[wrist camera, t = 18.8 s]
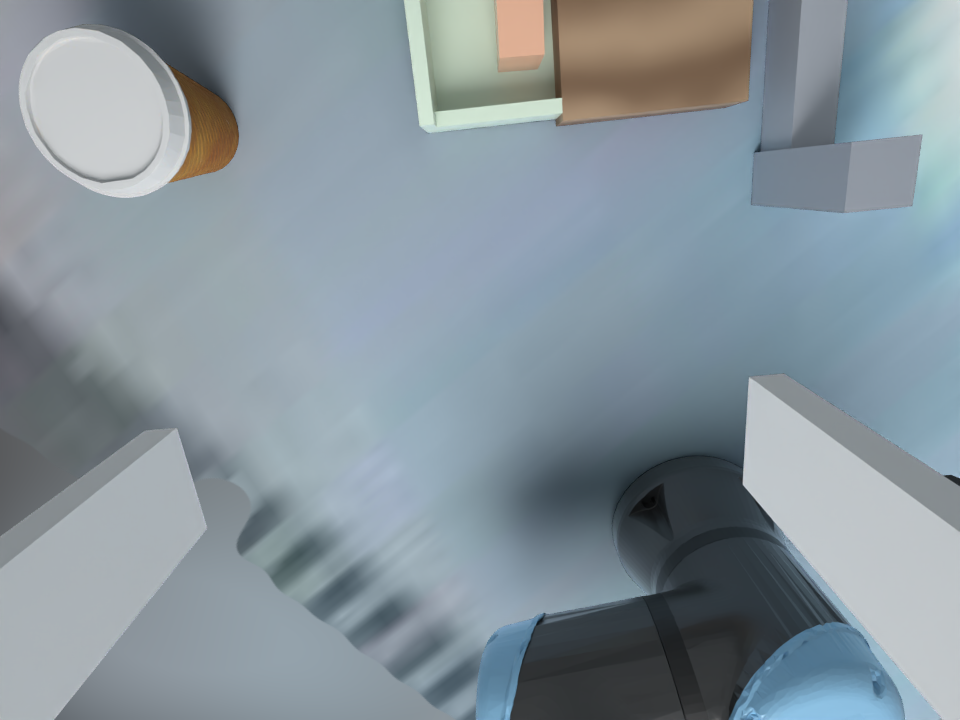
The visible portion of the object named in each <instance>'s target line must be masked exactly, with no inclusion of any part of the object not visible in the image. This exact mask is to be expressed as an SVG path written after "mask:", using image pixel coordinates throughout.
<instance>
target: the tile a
mask: <svg viewBox="0 0 960 720" xmlns="http://www.w3.org/2000/svg"><path fill="white" fill-rule="evenodd" d="M494 12H495V31H496V49H497V68H498V73H499V72H511V71H523V70H536V69H538V68H539V66H540V63H541V61H542V59H543V57H544V55H545V46H544V13H543V0H494Z"/></svg>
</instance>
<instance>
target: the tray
mask: <svg viewBox="0 0 960 720" xmlns="http://www.w3.org/2000/svg"><path fill="white" fill-rule="evenodd" d="M404 4H405V12H406V21H407V29H408V37H409V45H410V53H411V61H412V69H413V77H414V85H415V93H416V101H417V109H418V117H419V125H420V127H422V128H423V129H424V130H425V131H426V132H427V133H436V132H446V131H455V130H464V129H473V128H482V127H491V126H500V125H509V124H518V123H528V122H537V121H546V120H555V119H557V118H558V117H559V116H560V115H561V114H562V113H563V111H562V98H556V97H555V78H554V59H553V39H552V20H551V0H543V13H544V46H545V55H544V57H543V59H542V61H541V63H540V66H539V68H538V69H536V70H523V71H511V72H499V73H498V68H497V49H496V31H495V12H494V0H404Z"/></svg>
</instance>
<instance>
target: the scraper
mask: <svg viewBox="0 0 960 720" xmlns="http://www.w3.org/2000/svg"><path fill="white" fill-rule="evenodd" d="M847 4H848V0H769V10H768V27H767V45H766V62H765V80H764V97H763V114H762V132H761V149H760V152H755V153H754V161H753V179H752V198H751V205H757V206H769V207H780V208H792V209H804V210H815V211H827V212H838V213H849V212H859V211H869V210H879V209H889V208H899V207H909V206H912V205H913V198H914V191H915V184H916V177H917V170H918V163H919V156H920V149H921V142H922V135H913V136H904V137H894V138H885V139H875V140H866V141H857V142H847V143H838V144H834V139H835V129H836V118H837V108H838V98H839V87H840V77H841V66H842V56H843V46H844V35H845V25H846V15H847Z"/></svg>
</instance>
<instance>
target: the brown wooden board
mask: <svg viewBox="0 0 960 720" xmlns="http://www.w3.org/2000/svg"><path fill="white" fill-rule="evenodd" d="M752 16H753V0H551V20H552V39H553V59H554V78H555V97H556V98H562V111H563V113H562V114H561V115H560V116H559V117H558V118H557V119H556V126H564V125H573V124H582V123H591V122H600V121H610V120H619V119H628V118H637V117H646V116H655V115H664V114H674V113H683V112H692V111H701V110H710V109H719V108H726V107H729V106H732V105H736V104H739V103H742V102H745V101H748V97H749V77H750V57H751V36H752Z"/></svg>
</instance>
